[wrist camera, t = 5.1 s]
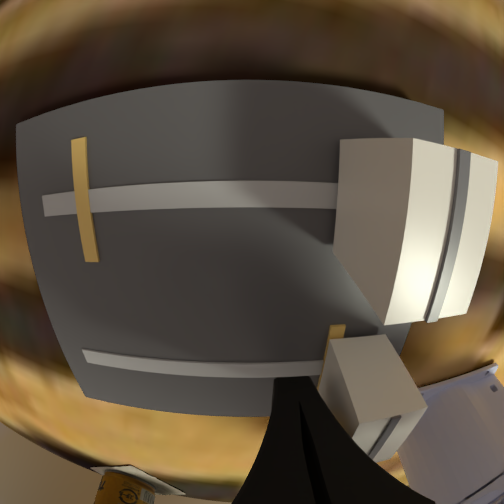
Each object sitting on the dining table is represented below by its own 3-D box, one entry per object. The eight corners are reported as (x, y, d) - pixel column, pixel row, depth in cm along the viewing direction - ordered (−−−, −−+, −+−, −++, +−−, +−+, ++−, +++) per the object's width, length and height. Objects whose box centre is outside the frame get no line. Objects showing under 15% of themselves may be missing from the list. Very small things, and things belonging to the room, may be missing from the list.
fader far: (385, 334, 10) (429, 409, 6) (364, 391, 11) (391, 460, 7) (329, 339, 10) (360, 426, 6) (316, 397, 11) (333, 473, 7)
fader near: (408, 149, 7) (501, 162, 4) (396, 252, 9) (467, 315, 5) (340, 139, 7) (416, 137, 4) (332, 252, 9) (385, 328, 5)
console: (422, 112, 9) (445, 109, 7) (370, 385, 14) (379, 405, 12) (37, 123, 8) (14, 124, 7) (94, 379, 13) (84, 397, 12)
